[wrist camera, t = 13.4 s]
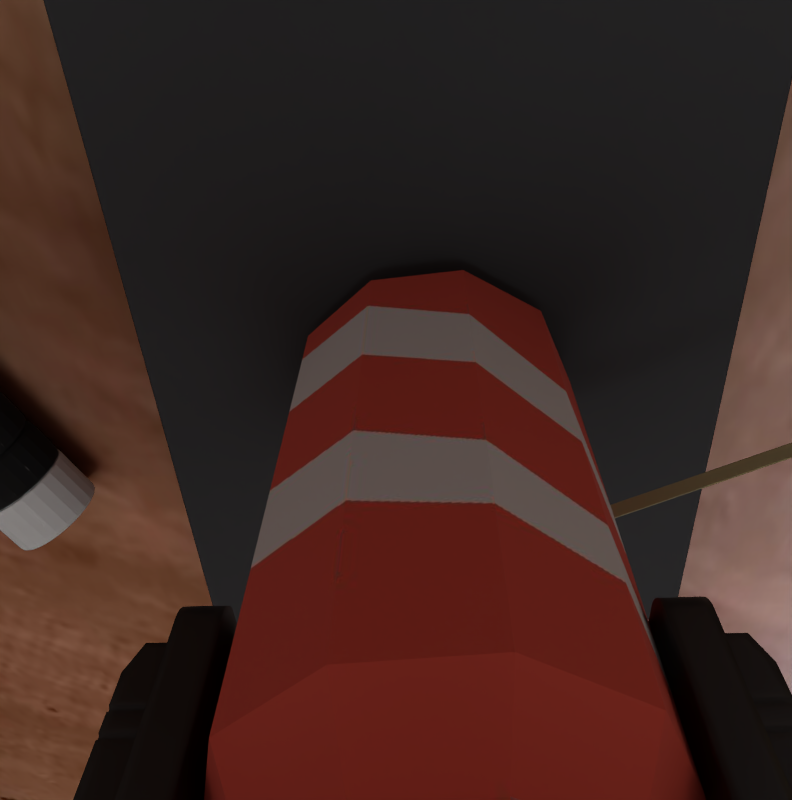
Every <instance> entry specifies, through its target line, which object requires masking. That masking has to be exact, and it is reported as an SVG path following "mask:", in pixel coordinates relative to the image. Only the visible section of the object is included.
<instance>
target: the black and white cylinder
mask: <svg viewBox="0 0 792 800" xmlns="http://www.w3.org/2000/svg"><path fill="white" fill-rule="evenodd" d="M94 490H95V487H94V485H93V483H92V482H91V481H90V480H89V479H88V478H87V477H86V476H85V475H84V474H83V473H82V472H81V471H80V470H79V469H78V468H77V467H76V466H75V465H74V464H73V463H72V462H71V461H70V460H69V459H68V458H67V457H66V456H65V455H64V454H63V453H62V452H61V451H60V450H58V449H57V448H56V447H55V446H54V445H53V444H52V442H51V441H50V440H49V439H48V438H47V437H46V436H45V435H44V434H43V433H42V432H41V431H40V430H39V429H38V428H37V427H36V426H34V425H33V424H32V423H31V422H29V421H26V420H25V417H24V415H23V414H22V413H21V412H20V411H19V410H18V409H17V408H16V407H15V406H14V405H13V404H12V403H11V402H10V401H9V400H8V399H7V398H6V397H5V396H4V395H3V394H2V393H1V392H0V530H1V531H2V532H3V533H4V534H5V535H6V536H8V537H9V538H10V539H11V540H12V541H13V542H15V543H16V544H17V545H18V546H19V547H20V548H22V549H24V550H33V549H36V548H38V547H41V546H43V545H44V544H46V543H48V542H50V541H51V540H53V539H54V538H55V537H57V536H58V535H60V534H61V533H62V532H63V531H64V530H66V529H67V528H68V527H69V526H70V525H71V524H72V523H73V522H74V521H75V520H76V519H77V518H78V517H79V516H80V515H81V513H82V512H83V511H84V510H85V509H86V507H87V506H88V504H89V502H90V501H91V499H92V497H93V494H94Z"/></svg>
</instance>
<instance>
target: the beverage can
mask: <svg viewBox="0 0 792 800" xmlns="http://www.w3.org/2000/svg"><path fill="white" fill-rule="evenodd" d="M204 800H706V797H705V794H704V791H703V787H702V784H701V781H700V778H699V775H698V772H697V769H696V766H695V763H694V760H693V757H692V754H691V751H690V748H689V745H688V742H687V739H686V735H685V732H684V729H683V726H682V723H681V720H680V717H679V714H678V711H677V708H676V705H675V702H674V699H673V696H672V693H671V690H670V687H669V683H668V680H667V677H666V674H665V671H664V668H663V665H662V662H661V659H660V656H659V653H658V650H657V647H656V644H655V641H654V638H653V635H652V631H651V628H650V625H649V622H648V619H647V616H646V613H645V610H644V607H643V604H642V601H641V597H640V594H639V591H638V588H637V585H636V582H635V579H634V576H633V573H632V570H631V567H630V564H629V561H628V558H627V555H626V552H625V549H624V546H623V542H622V539H621V536H620V533H619V530H618V527H617V524H616V521H615V518H614V515H613V512H612V509H611V506H610V503H609V500H608V497H607V494H606V491H605V488H604V484H603V481H602V478H601V475H600V472H599V469H598V466H597V463H596V460H595V457H594V454H593V451H592V448H591V445H590V442H589V439H588V436H587V433H586V430H585V426H584V423H583V420H582V417H581V414H580V411H579V408H578V405H577V402H576V399H575V396H574V393H573V390H572V387H571V384H570V381H569V378H568V376H567V373H566V371H565V369H564V366H563V364H562V361H561V359H560V356H559V354H558V351H557V349H556V347H555V344H554V342H553V339H552V337H551V334H550V332H549V330H548V327H547V325H546V322H545V320H544V317H543V315H542V312H541V311H540V310H538V309H536V308H534V307H532V306H531V305H529V304H527V303H525V302H523V301H521V300H519V299H517V298H515V297H514V296H512V295H510V294H508V293H506V292H504V291H502V290H500V289H498V288H496V287H495V286H493V285H491V284H489V283H487V282H485V281H483V280H481V279H479V278H477V277H476V276H474V275H472V274H470V273H468V272H466V271H464V270H459V271H450V272H441V273H432V274H423V275H415V276H406V277H397V278H388V279H379V280H371V281H370V282H369V283H367V284H366V285H365V286H364V287H363V288H362V289H361V290H359V291H358V292H357V293H356V294H355V295H354V296H353V297H352V298H350V299H349V300H348V301H347V302H346V303H345V304H344V305H342V306H341V307H340V308H339V309H338V310H337V311H336V312H335V313H333V314H332V315H331V316H330V317H329V318H328V319H327V320H325V321H324V322H323V323H322V324H321V325H320V326H319V327H318V328H316V329H315V330H314V331H313V332H312V333H311V334H310V335H308V338H307V342H306V346H305V350H304V354H303V358H302V362H301V367H300V371H299V375H298V379H297V383H296V387H295V391H294V395H293V399H292V403H291V407H290V411H289V415H288V419H287V423H286V427H285V431H284V436H283V440H282V444H281V448H280V452H279V456H278V460H277V464H276V468H275V472H274V476H273V480H272V484H271V488H270V492H269V496H268V500H267V505H266V509H265V513H264V517H263V521H262V525H261V529H260V533H259V537H258V541H257V545H256V549H255V553H254V557H253V561H252V565H251V569H250V574H249V578H248V582H247V586H246V590H245V594H244V598H243V602H242V606H241V610H240V614H239V618H238V622H237V626H236V630H235V634H234V638H233V643H232V647H231V651H230V655H229V659H228V663H227V667H226V671H225V675H224V679H223V683H222V687H221V691H220V695H219V699H218V703H217V707H216V712H215V716H214V720H213V724H212V728H211V732H210V736H209V744H208V757H207V769H206V781H205V793H204Z"/></svg>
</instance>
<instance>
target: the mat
mask: <svg viewBox="0 0 792 800" xmlns="http://www.w3.org/2000/svg"><path fill="white" fill-rule="evenodd" d="M44 4H45V7H46V11H47V14H48V18H49V22H50V25H51V29H52V32H53V36H54V39H55V43H56V47H57V50H58V54H59V57H60V61H61V64H62V68H63V72H64V75H65V79H66V82H67V86H68V89H69V93H70V97H71V100H72V104H73V107H74V111H75V114H76V118H77V122H78V125H79V129H80V132H81V136H82V140H83V143H84V147H85V150H86V154H87V157H88V161H89V165H90V168H91V172H92V175H93V179H94V182H95V186H96V190H97V193H98V197H99V200H100V204H101V207H102V211H103V215H104V218H105V222H106V225H107V229H108V232H109V236H110V240H111V243H112V247H113V250H114V254H115V257H116V261H117V265H118V268H119V272H120V275H121V279H122V283H123V286H124V290H125V293H126V297H127V300H128V304H129V308H130V311H131V315H132V318H133V322H134V325H135V329H136V333H137V336H138V340H139V343H140V347H141V350H142V354H143V358H144V361H145V365H146V368H147V372H148V375H149V379H150V383H151V386H152V390H153V393H154V397H155V400H156V404H157V408H158V411H159V415H160V418H161V422H162V426H163V429H164V433H165V436H166V440H167V443H168V447H169V451H170V454H171V458H172V461H173V465H174V468H175V472H176V476H177V479H178V483H179V486H180V490H181V493H182V497H183V501H184V504H185V508H186V511H187V515H188V518H189V522H190V526H191V529H192V533H193V536H194V540H195V543H196V547H197V551H198V554H199V558H200V561H201V565H202V569H203V572H204V576H205V579H206V583H207V586H208V590H209V594H210V597H211V601H212V604H213V606H231V607H232V609H233V612H234V615H235V619H236V623H237V622H238V618H239V614H240V610H241V606H242V602H243V598H244V594H245V590H246V586H247V582H248V578H249V574H250V569H251V565H252V561H253V557H254V553H255V549H256V545H257V541H258V537H259V533H260V529H261V525H262V521H263V517H264V513H265V509H266V505H267V500H268V496H269V492H270V488H271V484H272V480H273V476H274V472H275V468H276V464H277V460H278V456H279V452H280V448H281V444H282V440H283V436H284V431H285V427H286V423H287V419H288V415H289V411H290V407H291V403H292V399H293V395H294V391H295V387H296V383H297V379H298V375H299V371H300V367H301V362H302V358H303V354H304V350H305V346H306V342H307V338H308V335H310V334H311V333H312V332H313V331H314V330H315V329H316V328H318V327H319V326H320V325H321V324H322V323H323V322H324V321H325V320H327V319H328V318H329V317H330V316H331V315H332V314H333V313H335V312H336V311H337V310H338V309H339V308H340V307H341V306H342V305H344V304H345V303H346V302H347V301H348V300H349V299H350V298H352V297H353V296H354V295H355V294H356V293H357V292H358V291H359V290H361V289H362V288H363V287H364V286H365V285H366V284H367V283H369V282H370V281H371V280H379V279H388V278H397V277H406V276H415V275H423V274H432V273H441V272H450V271H459V270H464V271H466V272H468V273H470V274H472V275H474V276H476V277H477V278H479V279H481V280H483V281H485V282H487V283H489V284H491V285H493V286H495V287H496V288H498V289H500V290H502V291H504V292H506V293H508V294H510V295H512V296H514V297H515V298H517V299H519V300H521V301H523V302H525V303H527V304H529V305H531V306H532V307H534V308H536V309H538V310H540V311H541V312H542V315H543V317H544V320H545V322H546V325H547V327H548V330H549V332H550V334H551V337H552V339H553V342H554V344H555V347H556V349H557V351H558V354H559V356H560V359H561V361H562V364H563V366H564V369H565V371H566V373H567V376H568V378H569V381H570V384H571V387H572V390H573V393H574V396H575V399H576V402H577V405H578V408H579V411H580V414H581V417H582V420H583V423H584V426H585V430H586V433H587V436H588V439H589V442H590V445H591V448H592V451H593V454H594V457H595V460H596V463H597V466H598V469H599V472H600V475H601V478H602V481H603V484H604V488H605V491H606V494H607V497H608V500H609V503H610V505H612V504H615V503H618V502H621V501H623V500H626V499H629V498H632V497H635V496H638V495H641V494H644V493H647V492H650V491H653V490H655V489H658V488H661V487H664V486H667V485H670V484H673V483H676V482H679V481H682V480H685V479H687V478H690V477H693V476H696V475H699V474H702V473H705V471H706V467H707V462H708V458H709V453H710V449H711V444H712V439H713V435H714V430H715V426H716V421H717V417H718V412H719V408H720V403H721V399H722V394H723V389H724V385H725V380H726V376H727V371H728V367H729V362H730V358H731V353H732V349H733V344H734V339H735V335H736V330H737V326H738V321H739V317H740V312H741V308H742V303H743V299H744V294H745V289H746V285H747V280H748V276H749V271H750V267H751V262H752V258H753V253H754V248H755V244H756V239H757V235H758V230H759V226H760V221H761V217H762V212H763V208H764V203H765V198H766V194H767V189H768V185H769V180H770V176H771V171H772V167H773V162H774V158H775V153H776V148H777V144H778V139H779V135H780V130H781V126H782V121H783V117H784V112H785V108H786V103H787V98H788V94H789V89H790V85H791V80H792V0H44ZM701 490H702V489H699V490H696V491H693V492H690V493H687V494H684V495H681V496H678V497H675V498H673V499H670V500H667V501H664V502H661V503H658V504H655V505H652V506H649V507H646V508H643V509H640V510H637V511H635V512H632V513H629V514H626V515H623V516H620V517H617V518H615V521H616V524H617V527H618V530H619V533H620V536H621V539H622V542H623V546H624V549H625V552H626V555H627V558H628V561H629V564H630V567H631V570H632V573H633V576H634V579H635V582H636V585H637V588H638V591H639V594H640V597H641V601H642V604H643V607H644V610H645V613H646V616H647V619H649V616H650V611H651V606H652V602H653V600H654V599H655V598H668V597H678V594H679V590H680V585H681V580H682V576H683V571H684V567H685V562H686V558H687V553H688V549H689V544H690V540H691V535H692V530H693V526H694V521H695V517H696V512H697V508H698V503H699V499H700V494H701Z"/></svg>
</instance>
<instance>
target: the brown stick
mask: <svg viewBox="0 0 792 800" xmlns="http://www.w3.org/2000/svg"><path fill="white" fill-rule="evenodd" d="M790 458H792V443H789V444H786V445H783V446H781V447H778V448H775V449H772V450H769V451H766V452H763V453H760V454H757V455H754V456H751V457H749V458H746V459H743V460H740V461H737V462H734V463H731V464H728V465H725V466H722V467H719V468H717V469H714V470H711V471H708V472H705V473H702V474H699V475H696V476H693V477H690V478H687V479H685V480H682V481H679V482H676V483H673V484H670V485H667V486H664V487H661V488H658V489H655V490H653V491H650V492H647V493H644V494H641V495H638V496H635V497H632V498H629V499H626V500H623V501H621V502H618V503H615V504H612V505H610V506H611V509H612V512H613V515H614V518H617V517H620V516H623V515H626V514H629V513H632V512H635V511H637V510H640V509H643V508H646V507H649V506H652V505H655V504H658V503H661V502H664V501H667V500H670V499H673V498H675V497H678V496H681V495H684V494H687V493H690V492H693V491H696V490H699V489H702V488H705V487H708V486H711V485H713V484H716V483H719V482H722V481H725V480H728V479H731V478H734V477H737V476H740V475H743V474H746V473H749V472H752V471H754V470H757V469H760V468H763V467H766V466H769V465H772V464H775V463H778V462H781V461H784V460H787V459H790Z"/></svg>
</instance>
